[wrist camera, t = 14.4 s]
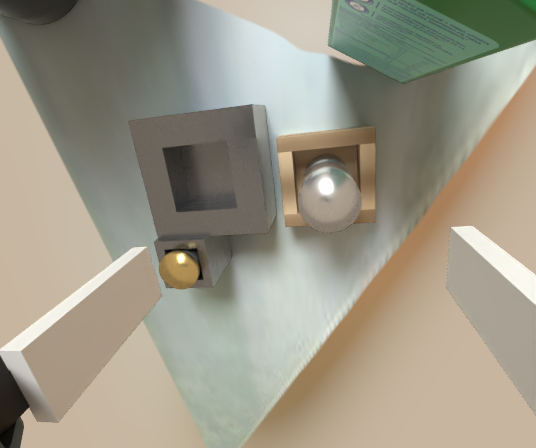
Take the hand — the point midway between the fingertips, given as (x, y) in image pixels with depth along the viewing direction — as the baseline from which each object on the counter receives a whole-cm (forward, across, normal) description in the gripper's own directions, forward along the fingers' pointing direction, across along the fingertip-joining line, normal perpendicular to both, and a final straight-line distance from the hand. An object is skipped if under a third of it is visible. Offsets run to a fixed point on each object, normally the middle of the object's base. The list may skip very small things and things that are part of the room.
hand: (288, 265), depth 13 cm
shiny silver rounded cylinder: (+24, +2, -1) cm, 24 cm away
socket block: (+25, -11, -2) cm, 27 cm away
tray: (+25, +2, -1) cm, 25 cm away
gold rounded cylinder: (+22, -14, -9) cm, 28 cm away
